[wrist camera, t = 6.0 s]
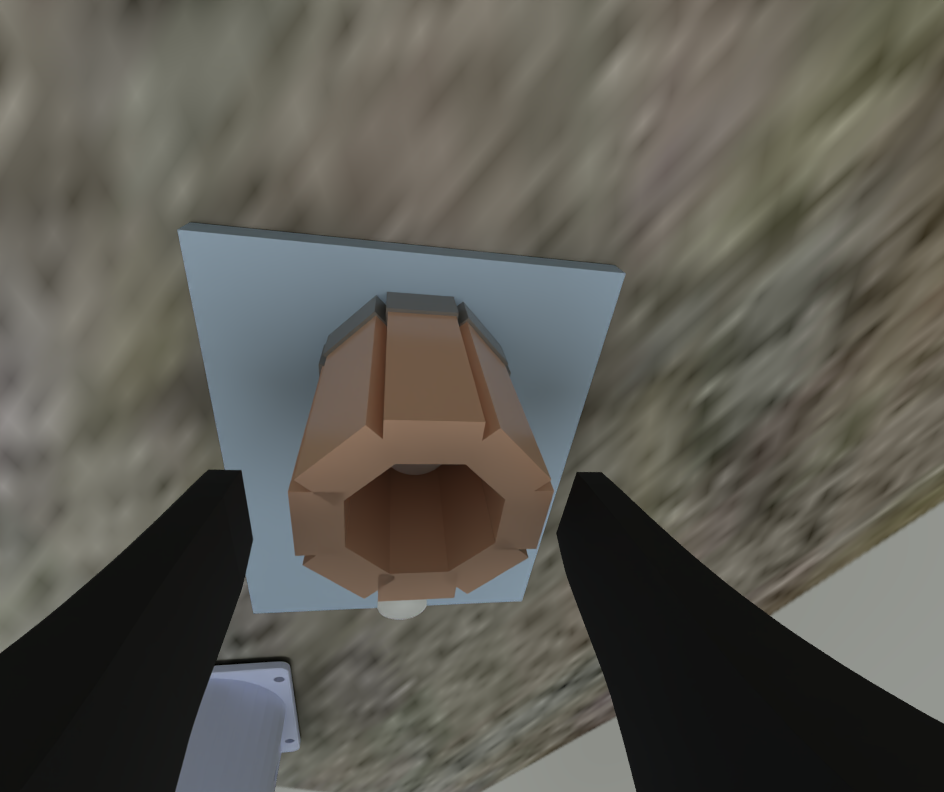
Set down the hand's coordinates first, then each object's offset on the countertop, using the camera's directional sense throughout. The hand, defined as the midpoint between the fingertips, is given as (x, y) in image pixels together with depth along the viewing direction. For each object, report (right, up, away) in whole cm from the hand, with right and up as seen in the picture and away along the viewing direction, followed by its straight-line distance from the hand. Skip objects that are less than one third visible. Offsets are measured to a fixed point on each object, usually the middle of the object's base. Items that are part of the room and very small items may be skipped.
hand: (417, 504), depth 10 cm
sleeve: (-1, +3, +4) cm, 5 cm away
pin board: (-1, 0, +7) cm, 7 cm away
